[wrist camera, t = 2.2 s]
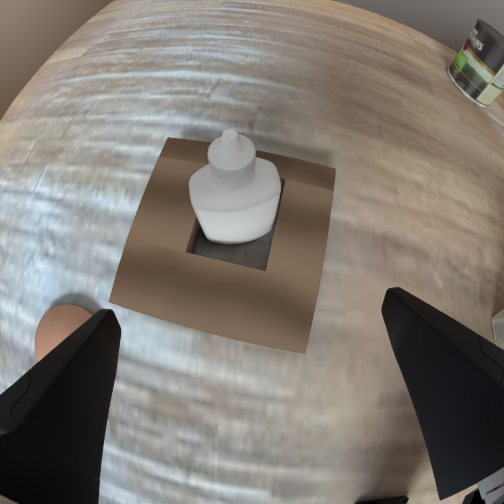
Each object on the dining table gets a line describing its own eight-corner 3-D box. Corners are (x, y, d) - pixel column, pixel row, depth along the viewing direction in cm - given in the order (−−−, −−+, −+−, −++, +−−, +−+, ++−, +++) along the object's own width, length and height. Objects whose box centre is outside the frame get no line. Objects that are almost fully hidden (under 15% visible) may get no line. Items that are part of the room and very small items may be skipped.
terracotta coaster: (106, 415, 19) (101, 418, 18) (36, 376, 19) (30, 377, 18) (122, 323, 21) (117, 322, 20) (50, 293, 22) (44, 291, 21)
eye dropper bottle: (262, 259, 23) (276, 190, 11) (197, 238, 23) (155, 158, 12) (278, 212, 24) (301, 117, 12) (216, 193, 24) (194, 94, 13)
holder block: (298, 350, 21) (305, 353, 18) (122, 304, 22) (108, 301, 19) (328, 182, 25) (335, 168, 22) (173, 152, 25) (167, 137, 23)
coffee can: (450, 88, 30) (487, 32, 17) (443, 60, 33) (471, 12, 19) (493, 118, 30) (533, 73, 16) (483, 87, 32) (514, 45, 19)
